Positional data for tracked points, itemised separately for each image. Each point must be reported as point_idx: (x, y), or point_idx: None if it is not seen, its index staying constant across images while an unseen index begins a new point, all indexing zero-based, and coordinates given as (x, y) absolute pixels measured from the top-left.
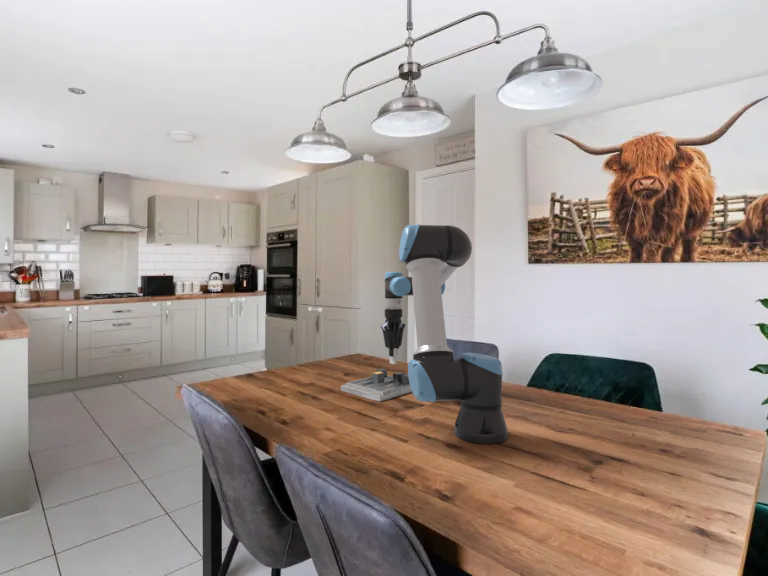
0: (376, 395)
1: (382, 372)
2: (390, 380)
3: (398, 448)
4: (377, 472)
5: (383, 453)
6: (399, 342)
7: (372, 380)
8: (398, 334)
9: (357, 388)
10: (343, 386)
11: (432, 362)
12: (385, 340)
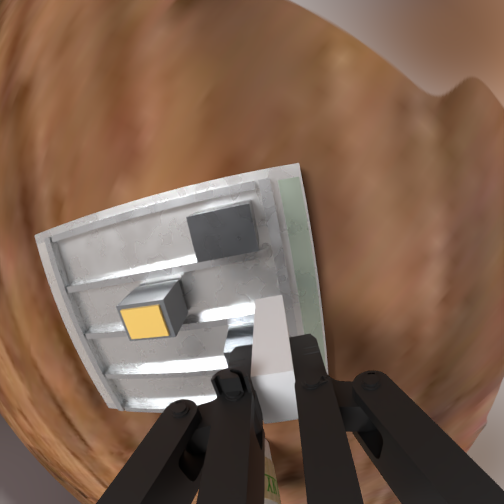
0: (103, 398)
1: (164, 334)
2: (218, 324)
3: (94, 486)
4: (70, 485)
5: (78, 480)
6: (364, 447)
7: (131, 292)
8: (421, 500)
9: (67, 311)
10: (39, 252)
11: None
12: (136, 473)
